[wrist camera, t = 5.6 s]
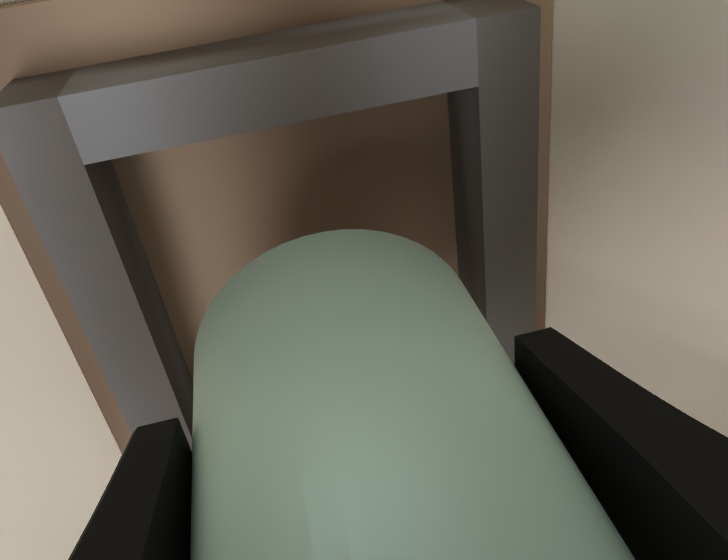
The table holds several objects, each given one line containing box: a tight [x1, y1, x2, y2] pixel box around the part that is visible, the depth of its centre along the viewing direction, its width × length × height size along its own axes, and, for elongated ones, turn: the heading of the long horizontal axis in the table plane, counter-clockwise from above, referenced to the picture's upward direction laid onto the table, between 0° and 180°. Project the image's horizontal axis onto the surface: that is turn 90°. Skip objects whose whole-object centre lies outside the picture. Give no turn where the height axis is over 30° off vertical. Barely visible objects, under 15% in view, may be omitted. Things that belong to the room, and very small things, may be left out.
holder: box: [0, 0, 553, 454], centre depth 15 cm, size 12×12×3 cm
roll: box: [190, 229, 635, 560], centre depth 9 cm, size 5×5×7 cm
